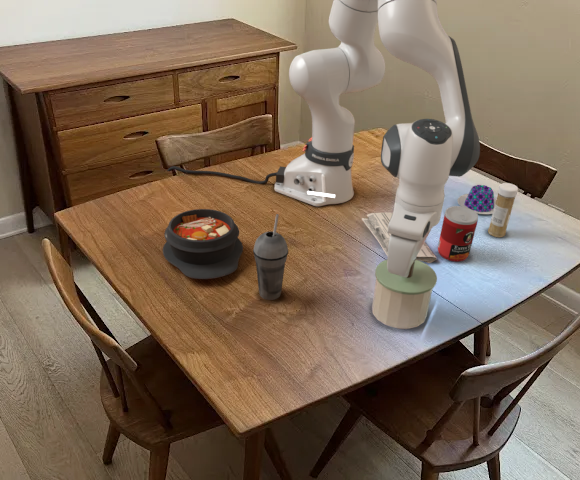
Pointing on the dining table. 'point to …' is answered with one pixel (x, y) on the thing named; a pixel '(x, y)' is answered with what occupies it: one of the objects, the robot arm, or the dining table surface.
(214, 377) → the dining table surface
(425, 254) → the newspaper
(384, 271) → the lid
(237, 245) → the casserole
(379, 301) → the jar
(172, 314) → the dining table surface
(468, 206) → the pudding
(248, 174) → the dining table surface
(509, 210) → the sprinkles bottle
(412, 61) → the robot arm
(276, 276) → the beverage cup
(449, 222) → the canned food
